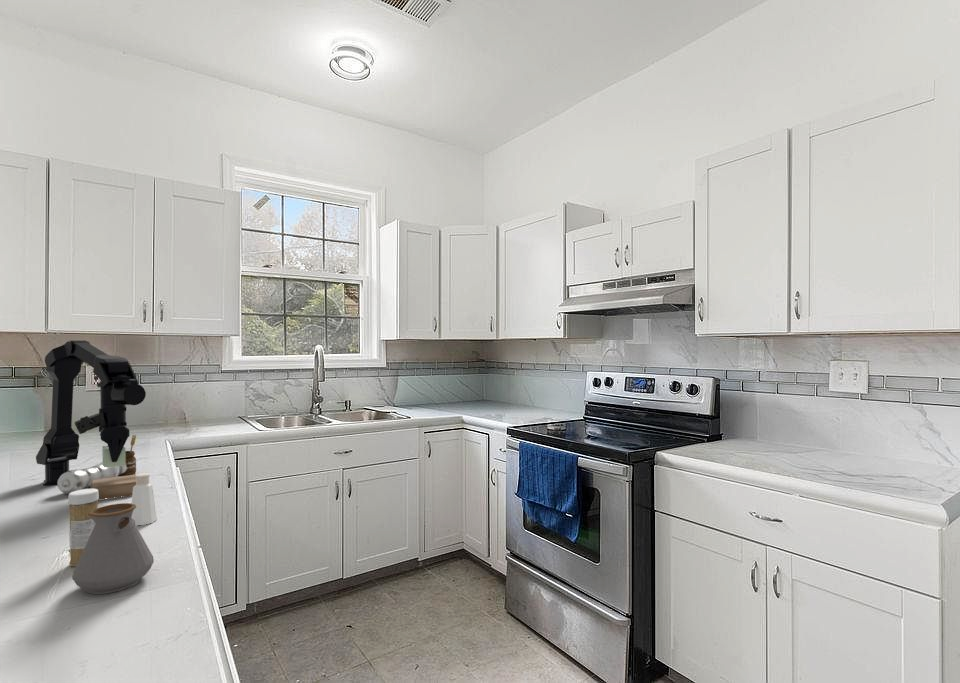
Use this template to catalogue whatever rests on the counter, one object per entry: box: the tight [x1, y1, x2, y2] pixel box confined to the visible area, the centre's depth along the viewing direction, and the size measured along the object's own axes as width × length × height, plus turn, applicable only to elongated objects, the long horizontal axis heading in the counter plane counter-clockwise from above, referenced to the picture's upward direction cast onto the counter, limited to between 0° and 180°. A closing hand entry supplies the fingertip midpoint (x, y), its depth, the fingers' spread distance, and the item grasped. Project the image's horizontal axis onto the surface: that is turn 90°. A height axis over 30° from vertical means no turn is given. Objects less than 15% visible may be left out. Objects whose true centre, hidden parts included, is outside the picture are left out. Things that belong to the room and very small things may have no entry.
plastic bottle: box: [56, 461, 127, 495], centre depth 155 cm, size 6×7×20 cm
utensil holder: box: [117, 434, 137, 477], centre depth 169 cm, size 6×6×12 cm
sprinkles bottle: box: [67, 488, 99, 567], centre depth 100 cm, size 5×5×14 cm
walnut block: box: [90, 473, 137, 501], centre depth 147 cm, size 10×10×4 cm
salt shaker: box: [131, 472, 158, 527], centre depth 123 cm, size 5×5×11 cm
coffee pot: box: [72, 502, 155, 595], centre depth 87 cm, size 21×12×15 cm, turn 40°
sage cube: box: [101, 445, 126, 468], centre depth 147 cm, size 5×5×5 cm
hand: (113, 460), depth 147 cm, fingers closed on sage cube, 5 cm apart
